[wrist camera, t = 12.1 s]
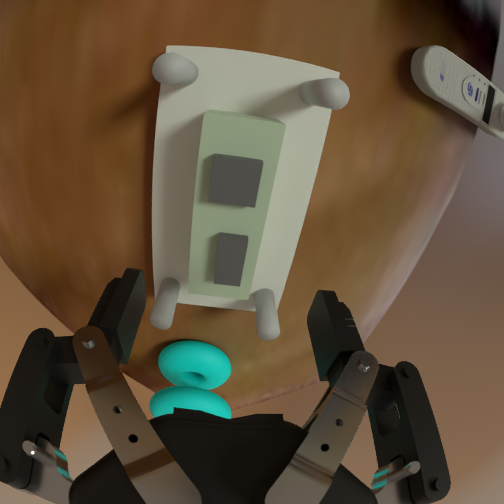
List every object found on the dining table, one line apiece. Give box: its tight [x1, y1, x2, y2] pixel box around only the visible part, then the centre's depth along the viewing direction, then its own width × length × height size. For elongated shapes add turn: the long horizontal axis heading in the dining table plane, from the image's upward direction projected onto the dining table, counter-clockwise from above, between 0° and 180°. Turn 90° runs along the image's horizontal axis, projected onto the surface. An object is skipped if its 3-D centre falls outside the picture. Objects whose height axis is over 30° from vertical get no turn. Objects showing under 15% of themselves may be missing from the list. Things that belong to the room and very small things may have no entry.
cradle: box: [150, 46, 350, 340], centre depth 21 cm, size 24×13×6 cm, turn 170°
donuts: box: [149, 340, 231, 419], centre depth 32 cm, size 10×10×10 cm
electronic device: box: [411, 46, 504, 140], centre depth 14 cm, size 5×10×15 cm
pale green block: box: [188, 109, 286, 300], centre depth 20 cm, size 14×5×5 cm, turn 170°
